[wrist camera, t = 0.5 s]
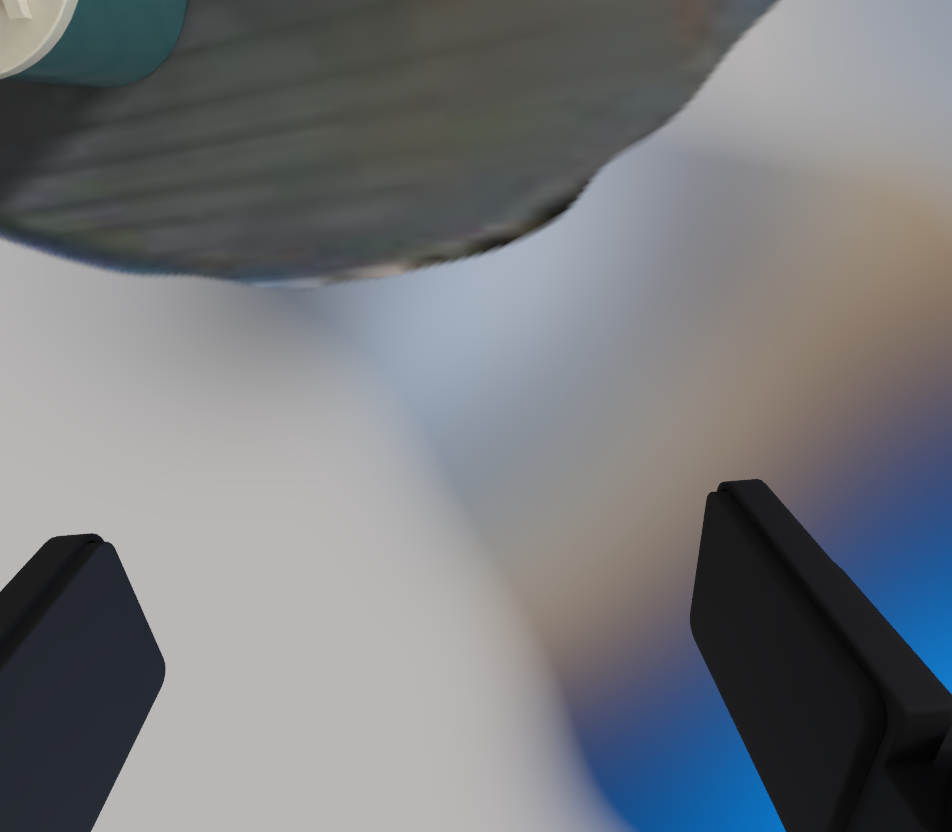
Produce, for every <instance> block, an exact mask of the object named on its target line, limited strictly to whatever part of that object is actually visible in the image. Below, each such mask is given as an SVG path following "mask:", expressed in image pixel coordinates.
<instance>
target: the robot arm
mask: <svg viewBox="0 0 952 832" xmlns="http://www.w3.org/2000/svg"><path fill="white" fill-rule="evenodd" d="M690 625H691V630H692V634H693V637H694V639H695V641H696V644H697V646H698V648H699V650H700V652H701V654H702V656H703V658H704V660H705V663H706V665H707V667H708V669H709V671H710V673H711V675H712V677H713V679H714V681H715V684H716V685H717V688H718V690H719V692H720V694H721V696H722V698H723V700H724V702H725V704H726V707H727V708H728V711H729V713H730V715H731V717H732V719H733V721H734V723H735V725H736V727H737V730H738V732H739V734H740V735H741V738H742V740H743V742H744V744H745V746H746V748H747V751H748V752H749V755H750V757H751V759H752V761H753V763H754V765H755V767H756V769H757V771H758V774H759V776H760V778H761V780H762V782H763V784H764V786H765V788H766V790H767V792H768V794H769V797H770V798H771V801H772V802H773V805H774V807H775V809H776V811H777V813H778V815H779V817H780V820H781V822H782V824H783V826H784V828H785V830H786V832H952V694H951V693H950V692H949V691H948V690H947V689H946V688H945V686H943V684H942V683H941V682H940V681H939V680H938V679H937V677H936V676H935V675H934V674H933V673H932V672H931V670H930V669H929V668H928V667H927V666H926V665H925V664H924V662H923V661H922V660H921V659H920V658H919V657H918V655H917V654H916V653H915V652H914V651H913V650H912V649H911V647H910V646H909V645H908V644H907V643H906V642H905V641H904V639H903V638H902V637H901V636H900V635H899V634H898V633H897V632H896V630H895V629H894V628H893V627H892V626H891V625H890V624H889V622H888V621H887V620H886V619H885V618H884V617H883V616H882V614H881V613H880V612H879V611H878V610H877V609H876V607H875V606H874V605H873V604H872V603H871V602H870V601H869V599H868V598H867V597H866V596H865V595H864V594H863V593H862V591H861V590H860V589H859V588H858V587H857V586H856V585H855V583H854V582H853V581H852V580H851V579H850V578H849V576H848V575H847V574H846V573H845V572H844V571H843V570H842V569H841V568H840V567H839V566H838V565H837V564H836V563H834V562H833V561H832V560H831V559H830V557H829V556H828V555H827V554H826V553H825V552H824V550H822V548H821V547H820V546H819V545H818V544H817V542H816V541H815V540H814V539H813V538H812V537H811V535H810V534H809V533H808V532H807V531H806V530H805V529H804V528H803V526H802V525H801V524H800V523H799V522H798V521H797V519H795V517H794V516H793V515H792V514H791V513H790V511H789V510H788V509H787V508H786V507H785V506H784V504H782V502H781V501H780V500H779V499H778V498H777V496H776V495H775V494H774V493H773V492H772V491H771V489H770V488H769V487H768V486H767V485H766V484H765V483H764V482H763V481H762V480H759V479H752V480H740V481H727V482H722V483H720V485H719V486H718V489H717V492H711V493H709V495H708V496H707V500H706V507H705V514H704V521H703V528H702V535H701V542H700V550H699V556H698V563H697V570H696V577H695V584H694V591H693V598H692V605H691V612H690ZM164 677H165V662H164V659H163V656H162V654H161V652H160V650H159V648H158V645H157V643H156V641H155V638H154V636H153V634H152V632H151V629H150V627H149V625H148V622H147V620H146V618H145V616H144V613H143V611H142V609H141V606H140V604H139V602H138V600H137V597H136V595H135V593H134V591H133V588H132V586H131V584H130V582H129V579H128V577H127V575H126V572H125V570H124V568H123V566H122V563H121V561H120V559H119V557H118V554H117V552H116V550H115V548H114V546H113V545H112V544H111V543H109V542H104V541H103V539H102V538H101V537H100V536H98V535H97V534H92V533H91V534H80V535H67V536H57V537H53V538H51V539H49V540H48V541H47V542H46V543H45V544H44V545H43V546H42V547H41V548H40V549H39V550H38V551H37V553H36V554H35V555H34V556H33V557H32V558H31V559H30V560H29V561H28V562H27V563H26V564H25V566H24V567H23V568H22V569H21V570H20V571H19V572H18V573H17V574H16V575H15V576H14V578H13V579H12V580H11V581H10V582H9V583H8V584H7V585H6V586H5V587H4V588H3V590H2V591H1V592H0V832H91V830H92V828H93V826H94V824H95V822H96V820H97V818H98V816H99V814H100V812H101V810H102V808H103V806H104V804H105V802H106V800H107V797H108V796H109V794H110V791H111V789H112V787H113V785H114V783H115V781H116V779H117V777H118V775H119V773H120V771H121V769H122V767H123V765H124V763H125V761H126V758H127V757H128V754H129V752H130V750H131V748H132V746H133V744H134V742H135V740H136V738H137V736H138V734H139V732H140V730H141V728H142V725H143V724H144V722H145V720H146V718H147V715H148V713H149V711H150V709H151V707H152V705H153V703H154V701H155V699H156V697H157V695H158V693H159V691H160V689H161V687H162V684H163V681H164Z"/></svg>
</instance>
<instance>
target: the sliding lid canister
mask: <svg viewBox="0 0 952 832" xmlns="http://www.w3.org/2000/svg"><path fill="white" fill-rule="evenodd" d="M186 4H187V0H0V80H7V81H19V82H30V83H42V84H54V85H66V86H77V87H89V88H114V87H120V86H125V85H128V84H131V83H134V82H136V81H138V80H140V79H142V78H144V77H146V76H147V75H149V74H150V73H151V72H153V71H154V70H155V69H156V68H158V67H159V66H160V65H161V63H162V62H163V61H164V60H165V59H166V58H167V57H168V55H169V53H170V52H171V50H172V49H173V47H174V46H175V43H176V41H177V39H178V37H179V34H180V32H181V28H182V25H183V21H184V17H185V10H186Z"/></svg>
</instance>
